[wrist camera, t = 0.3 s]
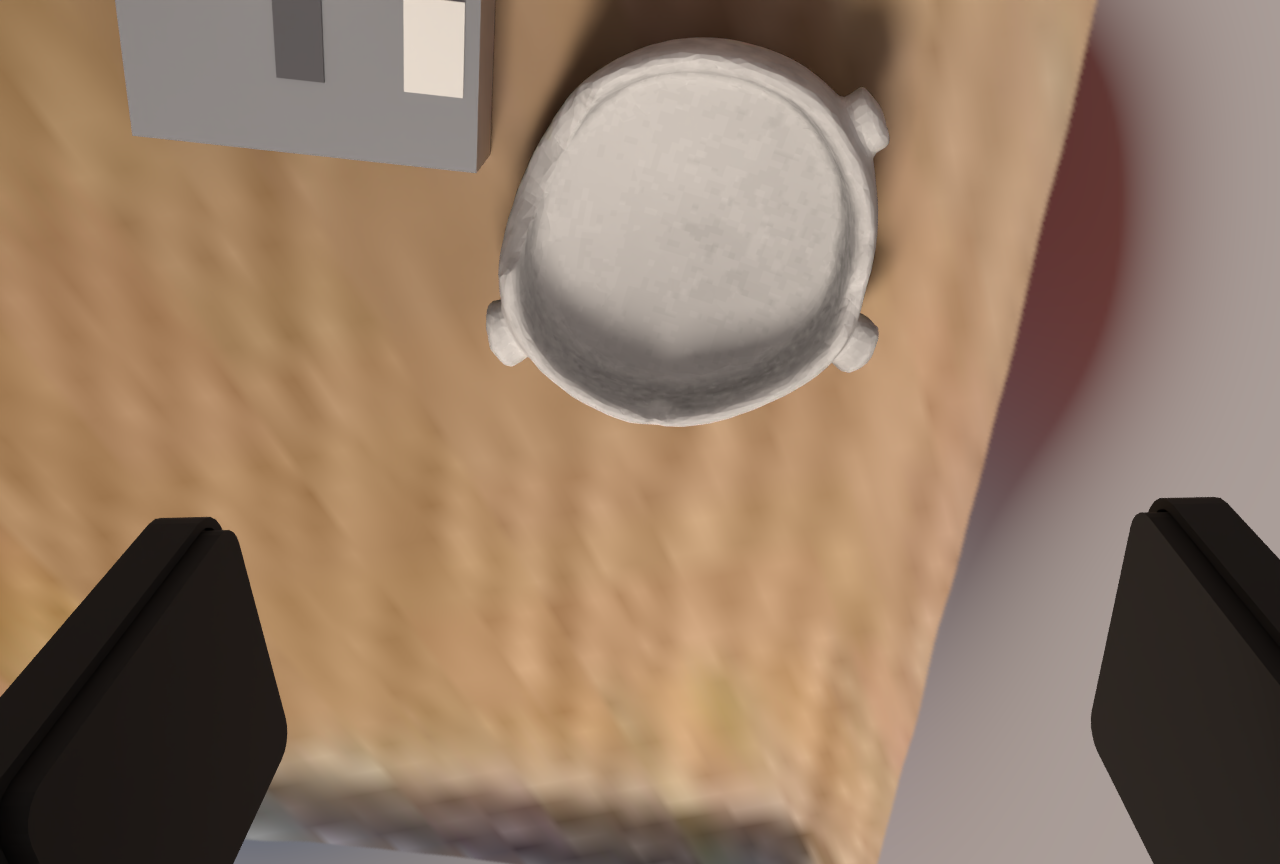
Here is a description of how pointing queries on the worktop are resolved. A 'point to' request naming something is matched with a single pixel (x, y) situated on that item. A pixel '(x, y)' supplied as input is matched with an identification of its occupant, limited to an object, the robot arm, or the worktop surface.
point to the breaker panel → (315, 76)
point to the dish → (693, 235)
